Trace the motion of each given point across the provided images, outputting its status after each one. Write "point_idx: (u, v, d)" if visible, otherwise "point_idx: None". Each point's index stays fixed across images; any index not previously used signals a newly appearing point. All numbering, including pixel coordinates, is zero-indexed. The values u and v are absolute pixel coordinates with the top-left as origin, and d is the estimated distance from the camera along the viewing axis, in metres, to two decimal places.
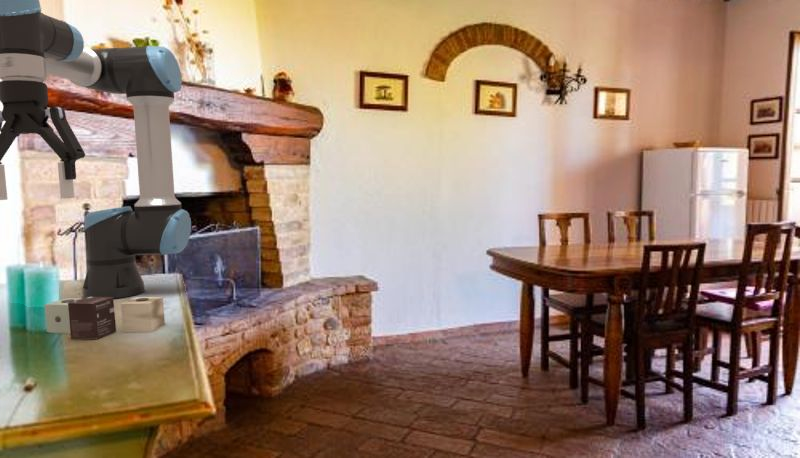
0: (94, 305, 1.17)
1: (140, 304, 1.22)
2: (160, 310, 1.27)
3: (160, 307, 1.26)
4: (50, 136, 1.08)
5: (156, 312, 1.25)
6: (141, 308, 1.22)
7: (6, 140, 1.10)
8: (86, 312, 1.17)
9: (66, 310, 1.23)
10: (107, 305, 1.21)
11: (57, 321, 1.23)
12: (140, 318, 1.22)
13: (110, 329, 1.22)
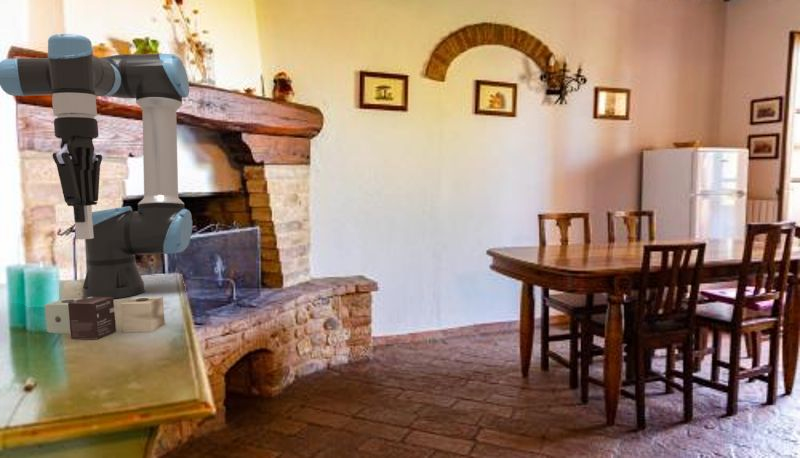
0: (94, 305, 1.17)
1: (140, 304, 1.22)
2: (160, 310, 1.27)
3: (160, 307, 1.26)
4: None
5: (156, 312, 1.25)
6: (141, 308, 1.22)
7: None
8: (86, 312, 1.17)
9: (66, 310, 1.23)
10: (107, 305, 1.21)
11: (57, 321, 1.23)
12: (140, 318, 1.22)
13: (110, 329, 1.22)
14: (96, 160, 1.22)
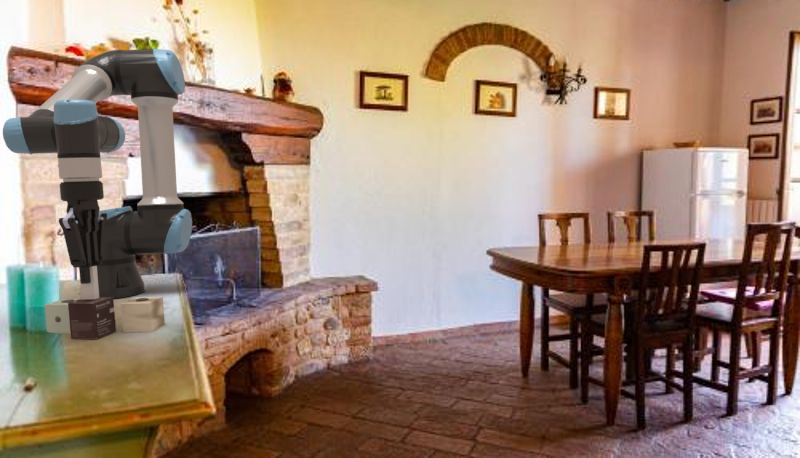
0: (94, 305, 1.17)
1: (140, 304, 1.22)
2: (160, 310, 1.27)
3: (160, 307, 1.26)
4: None
5: (156, 312, 1.25)
6: (141, 308, 1.22)
7: None
8: (86, 312, 1.17)
9: (66, 310, 1.23)
10: (107, 305, 1.21)
11: (57, 321, 1.23)
12: (140, 318, 1.22)
13: (110, 329, 1.22)
14: (101, 219, 1.23)
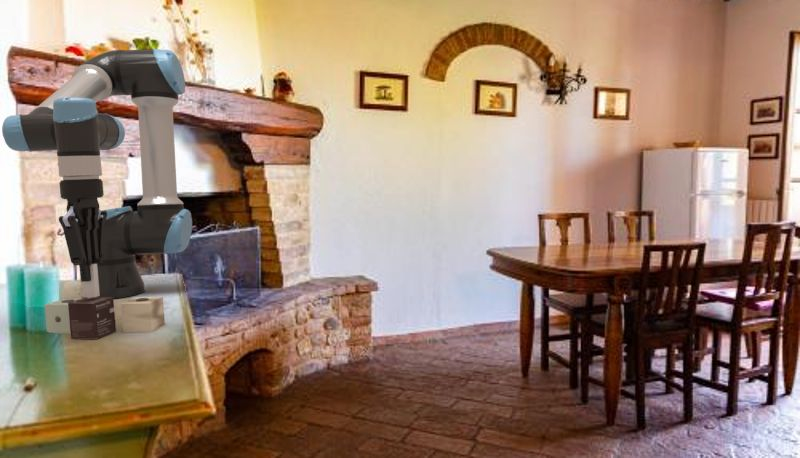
0: (94, 305, 1.17)
1: (140, 304, 1.22)
2: (160, 310, 1.27)
3: (160, 307, 1.26)
4: None
5: (156, 312, 1.25)
6: (141, 308, 1.22)
7: None
8: (86, 312, 1.17)
9: (66, 310, 1.23)
10: (107, 305, 1.21)
11: (57, 321, 1.23)
12: (140, 318, 1.22)
13: (110, 329, 1.22)
14: (101, 217, 1.23)
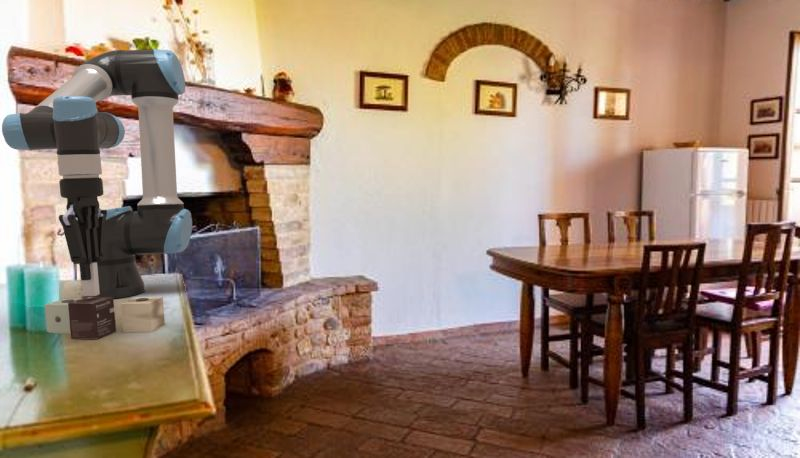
0: (94, 305, 1.17)
1: (140, 304, 1.22)
2: (160, 310, 1.27)
3: (160, 307, 1.26)
4: None
5: (156, 312, 1.25)
6: (141, 308, 1.22)
7: None
8: (86, 312, 1.17)
9: (66, 310, 1.23)
10: (107, 305, 1.21)
11: (57, 321, 1.23)
12: (140, 318, 1.22)
13: (110, 329, 1.22)
14: (101, 216, 1.23)
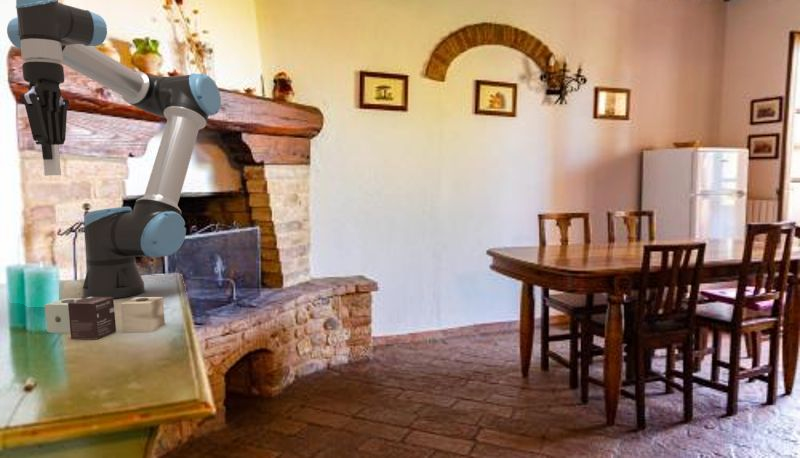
0: (94, 305, 1.17)
1: (140, 304, 1.22)
2: (160, 310, 1.27)
3: (160, 307, 1.26)
4: None
5: (156, 312, 1.25)
6: (141, 308, 1.22)
7: None
8: (86, 312, 1.17)
9: (66, 310, 1.23)
10: (107, 305, 1.21)
11: (57, 321, 1.23)
12: (140, 318, 1.22)
13: (110, 329, 1.22)
14: (63, 104, 1.32)
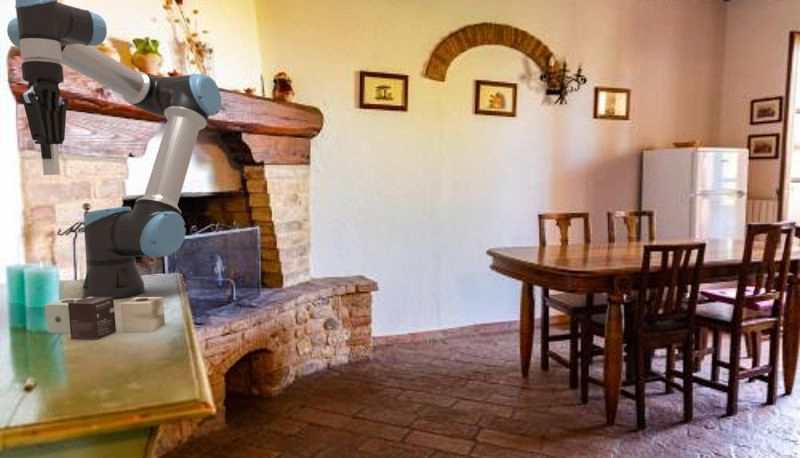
0: (94, 305, 1.17)
1: (140, 304, 1.22)
2: (160, 310, 1.27)
3: (160, 307, 1.26)
4: None
5: (156, 312, 1.25)
6: (141, 308, 1.22)
7: None
8: (86, 312, 1.17)
9: (66, 310, 1.23)
10: (107, 305, 1.21)
11: (57, 321, 1.23)
12: (140, 318, 1.22)
13: (110, 329, 1.22)
14: (62, 104, 1.32)
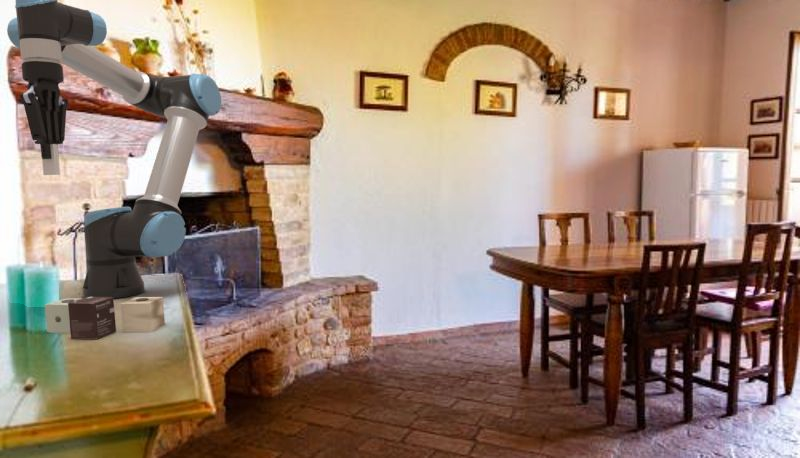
0: (94, 305, 1.17)
1: (140, 304, 1.22)
2: (160, 310, 1.27)
3: (160, 307, 1.26)
4: None
5: (156, 312, 1.25)
6: (141, 308, 1.22)
7: None
8: (86, 312, 1.17)
9: (66, 310, 1.23)
10: (107, 305, 1.21)
11: (57, 321, 1.23)
12: (140, 318, 1.22)
13: (110, 329, 1.22)
14: (62, 104, 1.32)
